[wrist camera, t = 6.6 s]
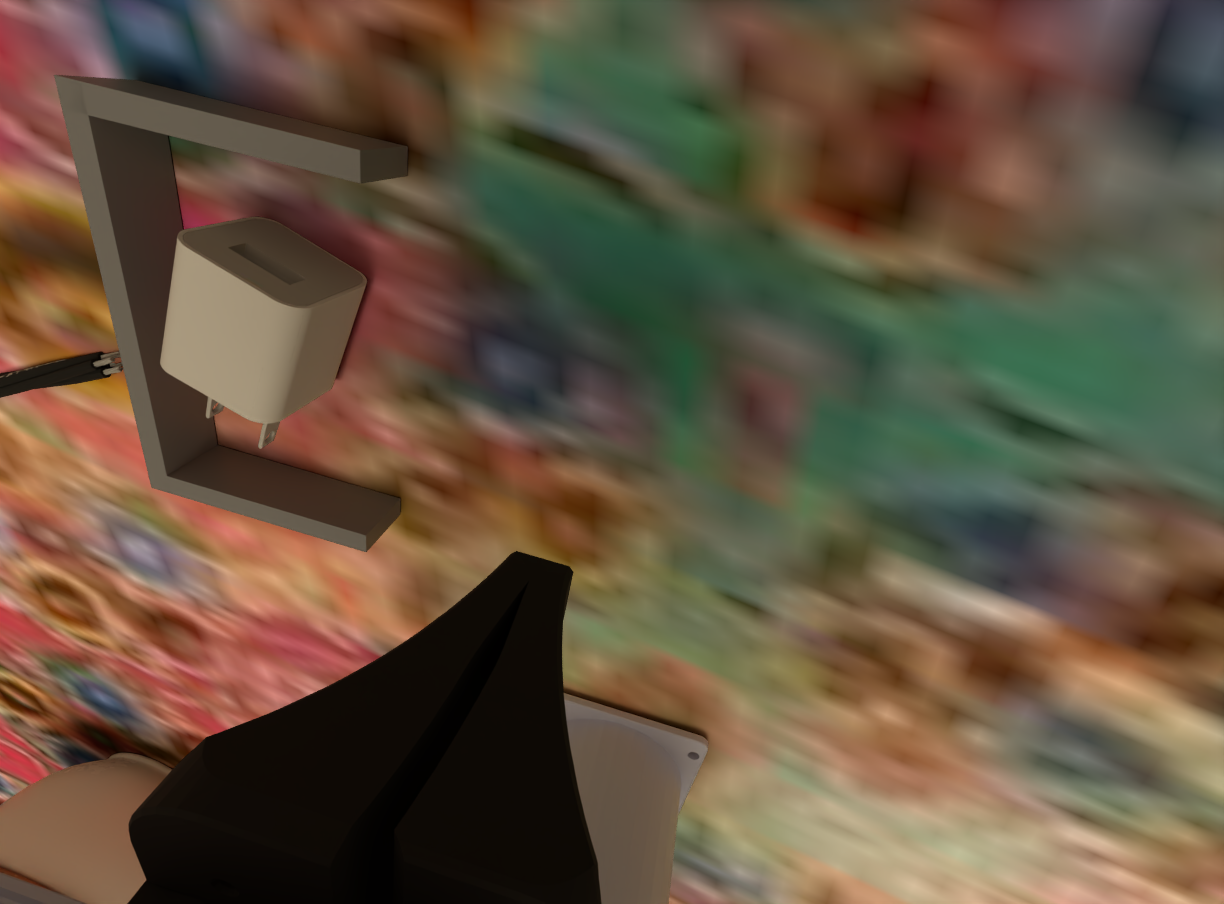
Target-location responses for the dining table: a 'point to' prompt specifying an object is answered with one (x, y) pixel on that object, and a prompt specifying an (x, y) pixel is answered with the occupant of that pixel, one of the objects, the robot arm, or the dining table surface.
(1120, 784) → the dining table surface
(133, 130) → the charging bay
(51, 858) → the lidded bowl
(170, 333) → the usb wall charger
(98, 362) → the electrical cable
